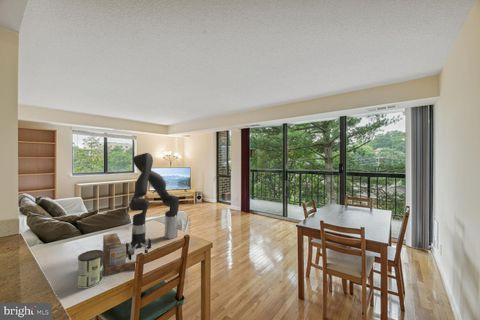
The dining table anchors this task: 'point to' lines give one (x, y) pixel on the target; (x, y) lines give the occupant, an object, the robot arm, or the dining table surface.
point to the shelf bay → (108, 242)
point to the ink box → (117, 254)
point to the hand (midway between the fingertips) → (138, 257)
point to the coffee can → (90, 268)
